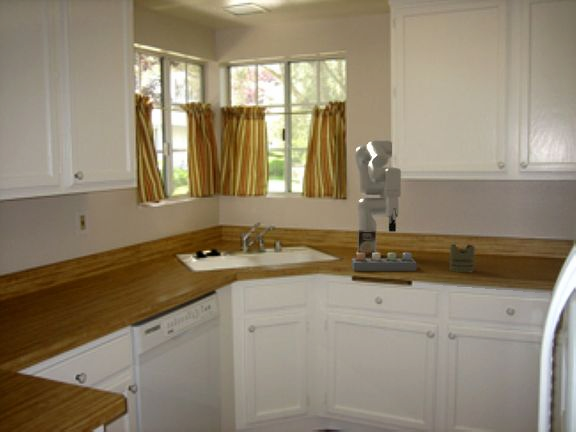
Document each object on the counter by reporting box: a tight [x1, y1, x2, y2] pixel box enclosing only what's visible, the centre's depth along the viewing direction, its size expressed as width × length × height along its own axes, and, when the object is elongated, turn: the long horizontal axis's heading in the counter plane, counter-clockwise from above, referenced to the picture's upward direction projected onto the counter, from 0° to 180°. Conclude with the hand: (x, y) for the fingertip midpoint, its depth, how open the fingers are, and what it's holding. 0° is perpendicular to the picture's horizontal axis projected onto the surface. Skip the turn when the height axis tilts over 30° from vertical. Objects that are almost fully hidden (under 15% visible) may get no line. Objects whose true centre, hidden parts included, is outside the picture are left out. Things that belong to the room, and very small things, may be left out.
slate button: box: [402, 252, 412, 261], centre depth 305 cm, size 4×4×4 cm
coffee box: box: [357, 229, 377, 258], centre depth 324 cm, size 9×6×16 cm
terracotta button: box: [356, 253, 365, 261], centre depth 305 cm, size 4×4×4 cm
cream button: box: [372, 252, 382, 261], centre depth 305 cm, size 4×4×4 cm
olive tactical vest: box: [449, 243, 476, 273], centre depth 299 cm, size 11×12×11 cm
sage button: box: [387, 252, 397, 261], centre depth 305 cm, size 4×4×4 cm
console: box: [351, 257, 418, 272], centre depth 305 cm, size 12×30×4 cm, turn 89°
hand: (392, 231), depth 303 cm, fingers closed
